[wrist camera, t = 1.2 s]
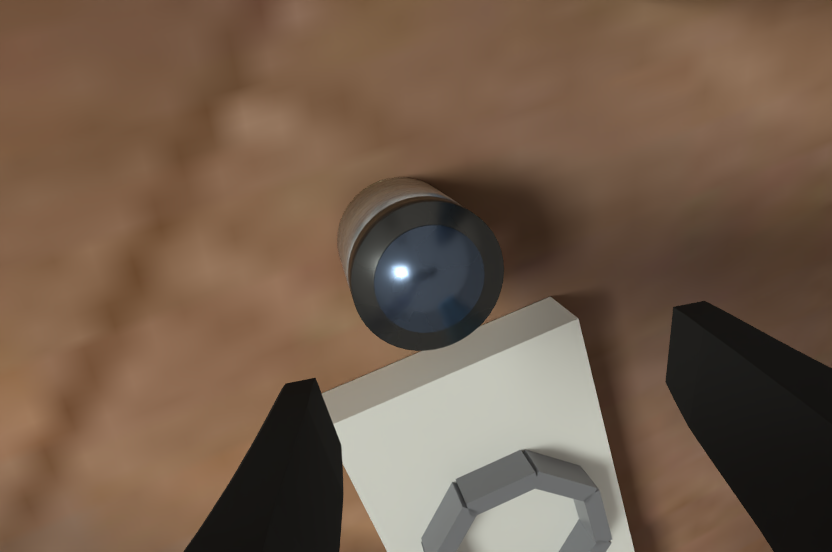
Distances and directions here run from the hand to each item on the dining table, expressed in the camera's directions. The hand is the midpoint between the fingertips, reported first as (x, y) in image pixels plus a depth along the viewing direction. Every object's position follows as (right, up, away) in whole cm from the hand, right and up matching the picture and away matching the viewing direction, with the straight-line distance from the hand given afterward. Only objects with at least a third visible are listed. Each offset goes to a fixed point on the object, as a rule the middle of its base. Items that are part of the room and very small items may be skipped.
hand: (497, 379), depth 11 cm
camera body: (+2, -9, +16) cm, 18 cm away
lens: (-2, +4, +11) cm, 12 cm away
